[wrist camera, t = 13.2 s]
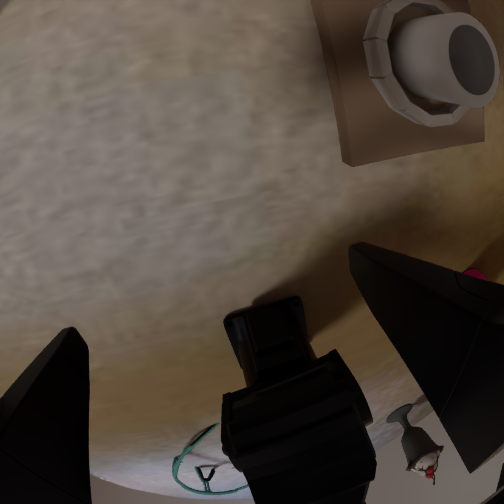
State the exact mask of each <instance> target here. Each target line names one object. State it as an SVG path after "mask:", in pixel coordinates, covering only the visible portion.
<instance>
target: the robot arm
mask: <svg viewBox="0 0 504 504" xmlns="http://www.w3.org/2000/svg"><path fill="white" fill-rule="evenodd" d="M349 267H350V272H351V275H352V277H353V278H354V280H355V282H356V284H357V286H358V288H359V290H360V292H361V293H362V295H363V297H364V299H365V301H366V303H367V305H368V307H369V309H370V310H371V312H372V314H373V315H374V317H375V318H376V320H377V321H378V323H379V324H380V326H381V327H382V329H383V330H384V332H385V333H386V335H387V336H388V338H389V339H390V341H391V342H392V344H393V345H394V347H395V348H396V350H397V351H398V353H399V354H400V356H401V358H402V359H403V361H404V362H405V364H406V365H407V367H408V369H409V370H410V372H411V373H412V375H413V376H414V378H415V380H416V381H417V383H418V384H419V386H420V388H421V389H422V391H423V393H424V394H425V396H426V398H427V399H428V401H429V402H430V404H431V406H432V407H433V409H434V411H435V412H436V414H437V416H438V417H439V418H440V421H441V423H442V425H443V427H444V428H445V430H446V432H447V433H448V435H449V437H450V439H451V441H452V442H453V444H454V446H455V448H456V449H457V451H458V453H459V455H460V456H461V459H462V460H463V462H464V464H465V466H466V468H467V470H468V471H469V473H472V472H474V471H475V470H477V469H478V468H479V467H481V466H482V465H483V464H485V463H486V462H487V461H489V460H490V459H491V458H493V457H494V456H495V455H496V454H498V453H499V452H500V451H501V450H502V449H504V285H502V284H498V283H494V282H491V281H487V280H483V279H480V278H476V277H473V276H470V275H467V274H464V273H461V272H458V271H453V270H451V269H448V268H445V267H442V266H439V265H436V264H433V263H430V262H427V261H423V260H420V259H417V258H414V257H411V256H407V255H404V254H401V253H398V252H394V251H391V250H388V249H384V248H381V247H378V246H374V245H371V244H368V243H364V242H358V243H355V244H352V245H350V246H349ZM295 302H297V303H295ZM294 303H295V304H294ZM228 322H232V323H229V324H228ZM223 323H224V327H225V330H226V332H227V335H228V337H229V340H230V342H231V345H232V347H233V350H234V352H235V355H236V357H237V359H238V362H239V364H240V367H241V368H242V369H243V373H244V378H245V382H246V386H247V387H246V388H243V389H241V390H238V391H235V392H232V393H230V392H228V393H226V394H223V403H222V416H221V442H222V444H223V445H222V451H223V453H224V454H225V455H226V456H228V457H229V459H230V461H231V462H232V464H233V465H234V467H235V468H236V469H237V470H238V471H239V472H243V474H244V476H245V478H246V480H247V482H248V485H249V488H250V490H251V493H252V496H253V499H254V501H255V504H366V502H365V498H366V495H367V491H368V487H369V483H370V482H371V481H373V480H374V478H375V473H376V465H377V462H376V459H375V458H376V454H375V450H374V448H373V445H372V443H371V440H370V438H369V435H368V433H367V430H366V428H365V426H367V425H369V424H371V423H373V418H372V414H371V411H370V408H369V406H368V403H367V401H366V399H365V396H364V394H363V392H362V390H361V388H360V386H359V384H358V382H357V381H356V379H355V377H354V376H353V374H352V373H351V371H350V370H349V368H348V367H347V365H346V364H345V362H344V361H343V359H342V358H341V356H340V355H339V353H338V352H337V350H336V349H334V350H332V351H330V352H329V353H328V354H326V355H324V356H322V357H320V358H317V357H316V355H315V353H314V351H313V349H312V347H311V344H310V342H309V340H308V335H307V328H306V322H305V316H304V309H303V303H302V300H301V298H300V297H298V296H294V297H291V298H288V299H285V300H281V301H278V302H275V303H272V304H269V305H265V306H262V307H259V308H255V309H252V310H249V311H245V312H242V313H239V314H235V315H232V316H228V317H226V318H225V319H224V320H223ZM89 398H90V380H89V349H88V346H87V344H86V342H85V341H84V339H83V338H82V336H81V335H80V334H79V332H78V331H77V329H76V328H75V327H68V328H64V329H62V330H61V331H60V332H59V333H58V335H57V336H56V337H55V338H54V339H53V340H52V341H51V342H50V343H49V344H48V345H47V346H46V347H45V348H44V349H43V351H42V352H41V353H40V354H39V355H38V356H37V357H36V358H35V359H34V360H33V361H32V363H31V364H30V365H29V366H28V367H27V368H26V369H25V370H24V372H23V373H22V374H21V375H20V376H19V377H18V378H17V380H16V381H15V382H14V383H13V384H12V385H11V386H10V388H9V389H8V390H7V391H6V392H5V394H4V395H3V396H2V397H1V398H0V504H92V499H91V487H90V469H89ZM481 504H504V463H503V465H502V470H501V474H500V478H499V482H498V486H497V489H496V492H495V493H494V494H492V495H491V496H490V497H488V498H487V499H486V500H484V501H483V502H482V503H481Z"/></svg>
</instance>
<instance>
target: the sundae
mask: <svg viewBox="0 0 504 504" xmlns="http://www.w3.org/2000/svg"><path fill="white" fill-rule="evenodd" d="M411 409H412V405H410V404H408V405H404V406H402V407H400V408H398V409H397V410H395V411H394V412H393V413H392V414H390V415H389V417H388V418H387V422H388V423H393V422H396V421H398V422H399V423H400V424H401V425H402V426H403V428H404V430H405V431H404V434H403V436H402V440H401V443H402V446H403V449H404V452H405V455H406V457H407V462H408V467H407V469H406V470H407V471H415V472H418V474H420V475H421V476H426V477H427V478H428V479H429V478H433V476H434V478H433V480H434V481H433V485H435V475H434V472H435V471H436V470H437V467H438V458H439V455H440V453H441V452H442V450H443V448H444V446H438V445H436V444H435V442H433V440H432V439H431V438H430V437H429V435H428V434H427V433H426V432H425V431H424V430H423V429H422V428H420V427H413V426H411V425H410V423H409V422H408V419H407V414H408V413H409V412H410V411H411Z"/></svg>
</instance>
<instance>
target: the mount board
mask: <svg viewBox="0 0 504 504" xmlns="http://www.w3.org/2000/svg"><path fill="white" fill-rule="evenodd" d="M311 3H312V7H313V10H314V14H315V18H316V22H317V26H318V30H319V34H320V39H321V43H322V47H323V52H324V56H325V61H326V66H327V71H328V76H329V81H330V86H331V91H332V97H333V103H334V108H335V114H336V120H337V127H338V133H339V140H340V147H341V154H342V162H344V163H346V164H348V165H349V166H351V167H355V166H360V165H364V164H369V163H373V162H378V161H382V160H387V159H392V158H396V157H401V156H406V155H411V154H416V153H421V152H426V151H432V150H437V149H442V148H448V147H454V146H459V145H465V144H471V143H477V142H484V141H485V125H484V107H481V108H473V107H469V106H464V105H459V104H454V103H449V102H443V101H437V100H431V99H425V98H420V97H417V96H414V95H412V94H411V93H409V92H408V91H407V90H405V89H404V88H403V87H402V85H401V84H400V83H399V82H398V80H397V79H396V77H395V75H394V73H393V71H392V67H391V61H390V56H389V50H388V40H389V36H390V34H391V32H392V30H393V28H394V27H395V26H396V25H397V24H398V23H399V22H401V21H403V20H407V19H412V18H418V17H424V16H431V15H438V14H446V13H455V12H462V13H466V14H469V15H471V13H470V9H469V5H468V1H467V0H311Z"/></svg>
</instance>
